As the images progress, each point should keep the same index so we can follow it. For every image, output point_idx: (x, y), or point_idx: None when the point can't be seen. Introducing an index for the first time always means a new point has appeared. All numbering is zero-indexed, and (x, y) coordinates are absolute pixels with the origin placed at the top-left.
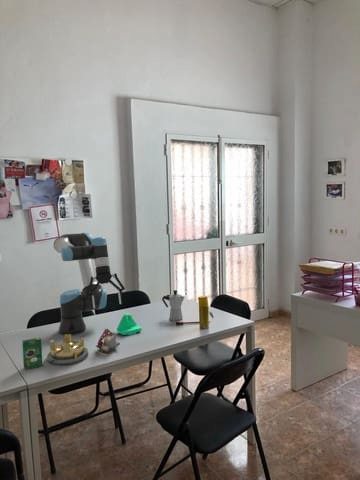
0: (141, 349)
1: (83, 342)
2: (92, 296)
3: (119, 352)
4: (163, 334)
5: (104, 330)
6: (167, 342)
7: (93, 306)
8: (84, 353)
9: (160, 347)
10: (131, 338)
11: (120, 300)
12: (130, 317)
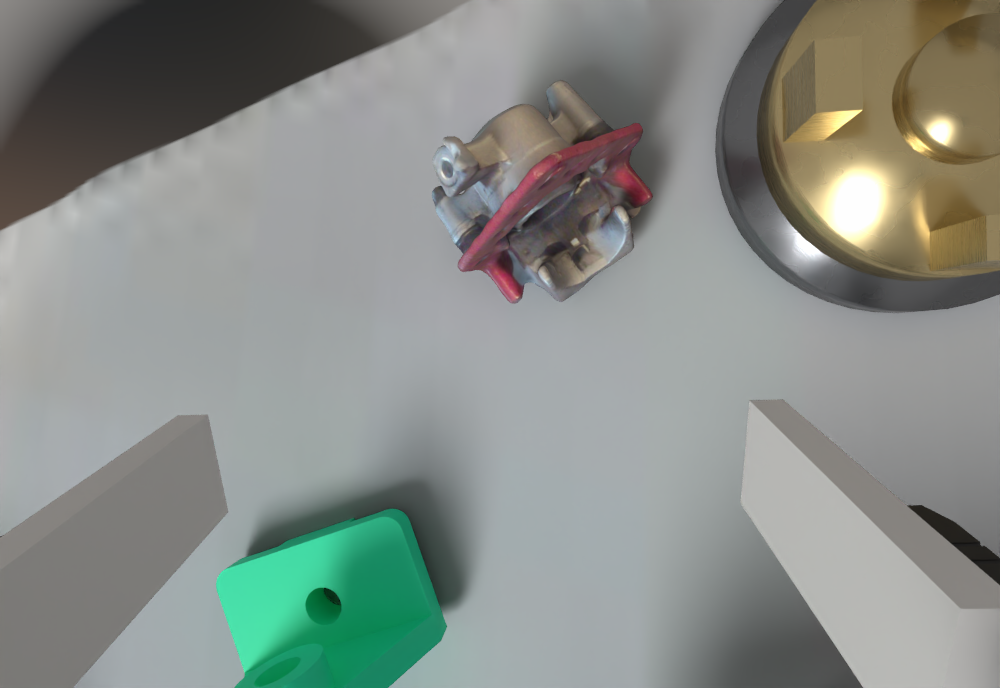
0: (282, 159)
1: (801, 60)
2: (984, 583)
3: None
4: (77, 441)
5: (567, 156)
6: (76, 253)
7: (799, 414)
8: (757, 82)
9: (140, 163)
10: (336, 429)
11: (134, 450)
12: (250, 684)
